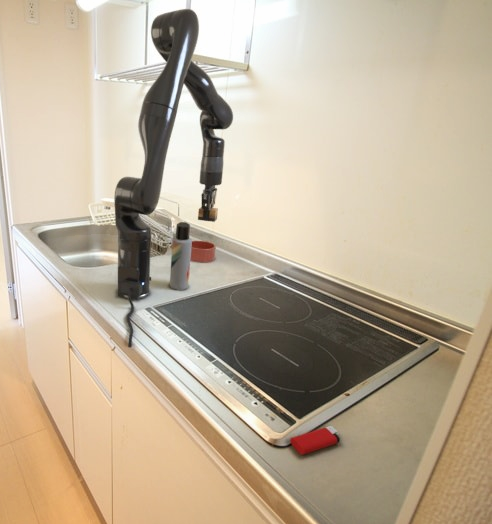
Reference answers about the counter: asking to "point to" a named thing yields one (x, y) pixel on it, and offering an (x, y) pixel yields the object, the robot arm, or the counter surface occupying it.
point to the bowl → (202, 251)
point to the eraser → (212, 214)
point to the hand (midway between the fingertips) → (207, 218)
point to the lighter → (315, 440)
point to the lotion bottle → (180, 257)
